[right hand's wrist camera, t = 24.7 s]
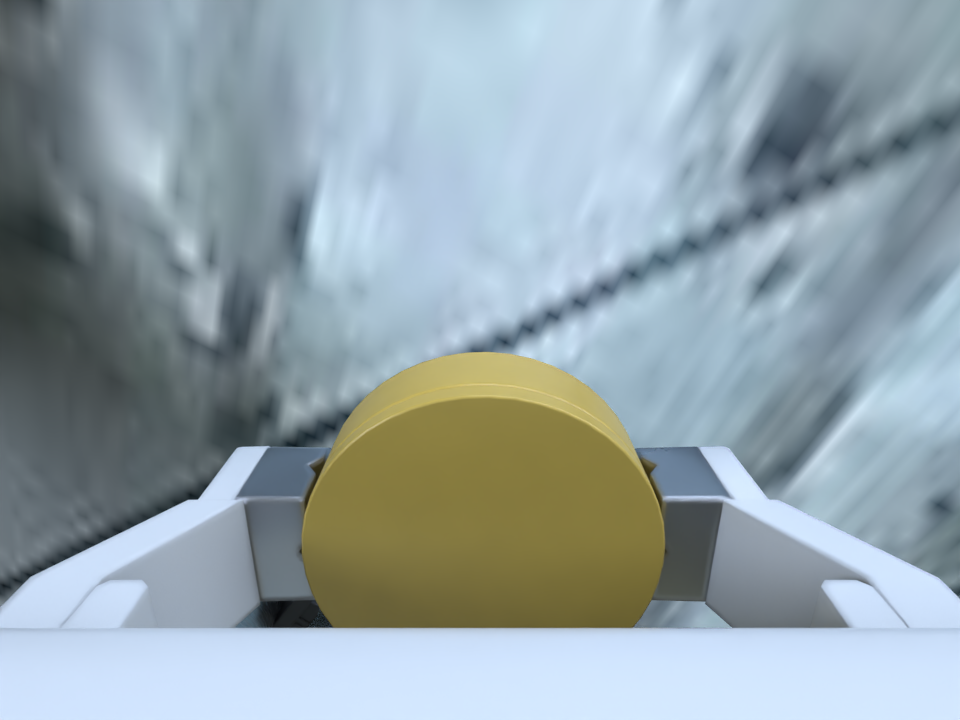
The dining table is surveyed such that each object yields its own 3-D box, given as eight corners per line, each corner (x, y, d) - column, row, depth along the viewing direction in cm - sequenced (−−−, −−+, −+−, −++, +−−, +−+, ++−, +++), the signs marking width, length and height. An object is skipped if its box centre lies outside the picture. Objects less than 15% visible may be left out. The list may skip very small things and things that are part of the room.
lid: (477, 659, 11) (476, 740, 10) (262, 490, 10) (225, 554, 8) (700, 500, 10) (739, 566, 9) (489, 281, 9) (491, 314, 7)
